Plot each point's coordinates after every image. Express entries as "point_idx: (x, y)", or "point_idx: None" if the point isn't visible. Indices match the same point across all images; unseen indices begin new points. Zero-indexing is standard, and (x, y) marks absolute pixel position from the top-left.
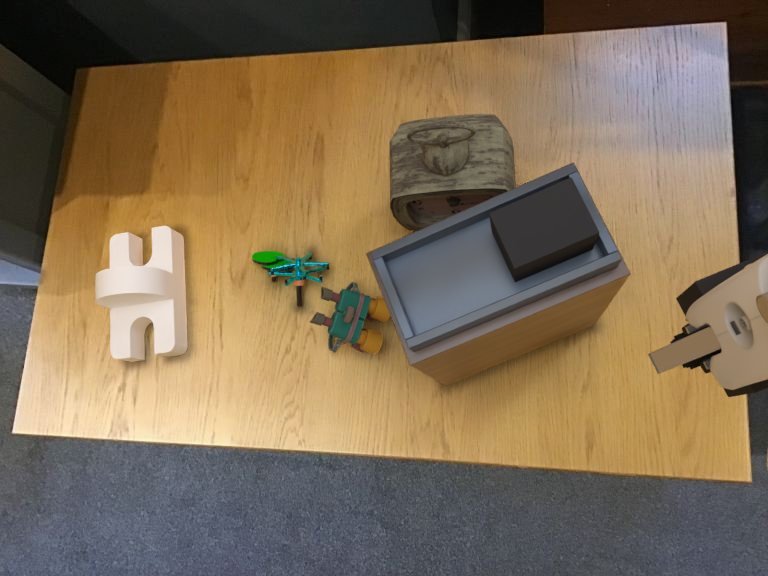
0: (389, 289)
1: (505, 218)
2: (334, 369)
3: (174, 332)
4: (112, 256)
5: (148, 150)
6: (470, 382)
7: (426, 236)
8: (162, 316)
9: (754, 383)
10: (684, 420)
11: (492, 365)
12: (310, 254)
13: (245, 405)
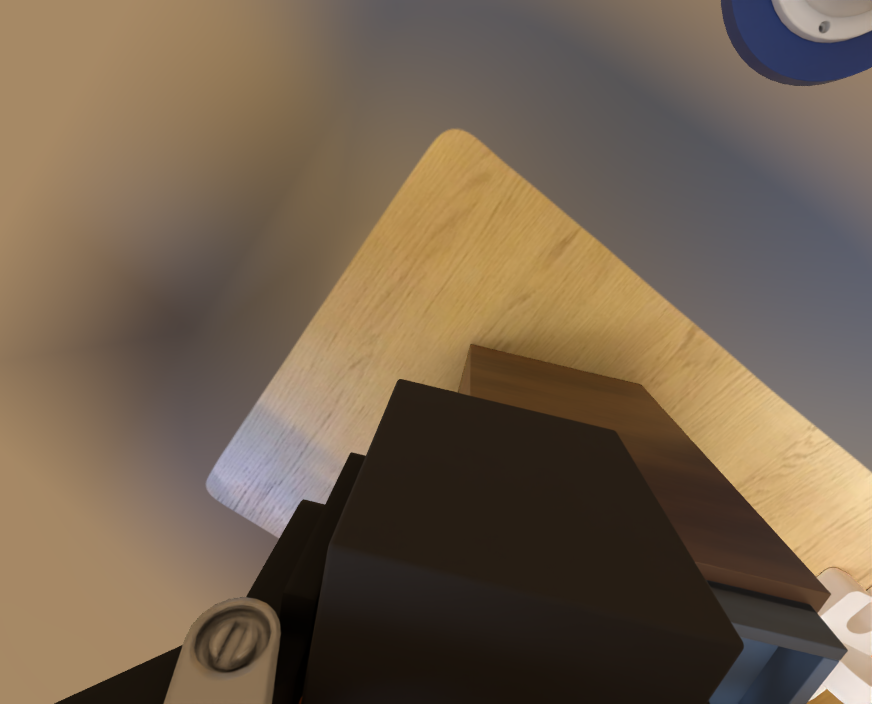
0: None
1: None
2: (721, 465)
3: (837, 601)
4: (822, 688)
5: None
6: (617, 372)
7: None
8: (833, 620)
9: (711, 668)
10: (462, 206)
11: (590, 377)
12: None
13: (827, 491)
